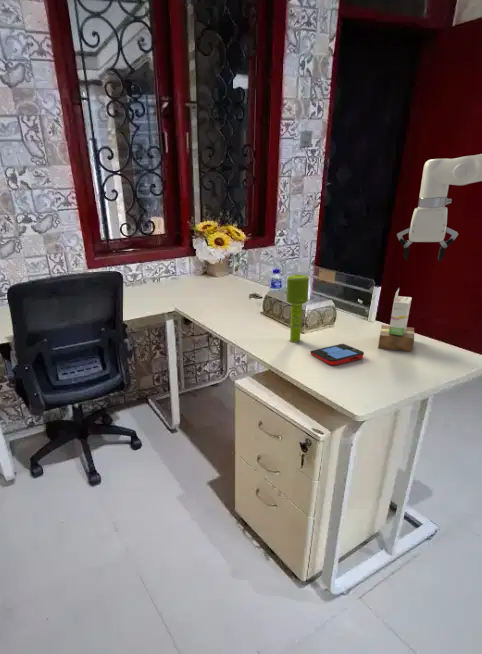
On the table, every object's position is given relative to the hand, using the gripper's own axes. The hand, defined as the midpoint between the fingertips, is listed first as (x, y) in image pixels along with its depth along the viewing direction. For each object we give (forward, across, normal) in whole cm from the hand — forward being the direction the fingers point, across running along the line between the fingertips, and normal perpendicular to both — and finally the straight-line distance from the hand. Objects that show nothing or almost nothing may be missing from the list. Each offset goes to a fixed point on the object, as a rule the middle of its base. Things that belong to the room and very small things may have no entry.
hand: (422, 259), depth 135 cm
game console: (+31, +22, +16) cm, 41 cm away
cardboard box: (+31, +4, -1) cm, 31 cm away
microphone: (+30, +39, +6) cm, 50 cm away
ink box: (+26, +4, -1) cm, 26 cm away
